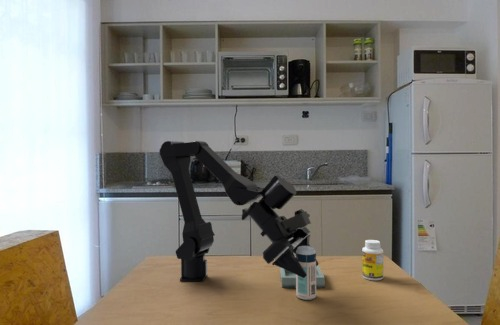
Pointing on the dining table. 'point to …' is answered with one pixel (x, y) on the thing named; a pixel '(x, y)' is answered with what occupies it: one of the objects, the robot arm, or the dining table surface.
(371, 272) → the supplement bottle
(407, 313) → the dining table surface
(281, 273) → the dish
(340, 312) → the dining table surface
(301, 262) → the beer can
